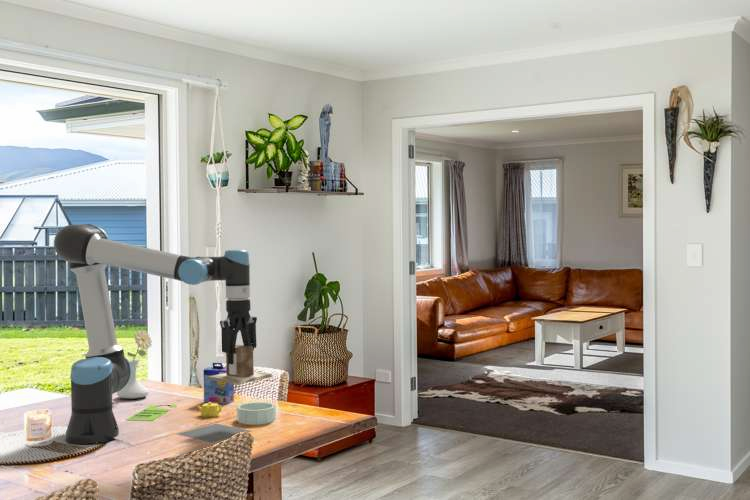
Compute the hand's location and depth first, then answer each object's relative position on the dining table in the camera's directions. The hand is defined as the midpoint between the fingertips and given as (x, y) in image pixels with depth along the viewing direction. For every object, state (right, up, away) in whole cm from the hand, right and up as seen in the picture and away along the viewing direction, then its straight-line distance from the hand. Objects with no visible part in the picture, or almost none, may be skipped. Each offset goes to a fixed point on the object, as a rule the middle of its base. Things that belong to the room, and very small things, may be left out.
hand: (240, 372), depth 259 cm
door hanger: (-33, -17, +23) cm, 44 cm away
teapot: (-13, -17, +14) cm, 26 cm away
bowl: (+4, -17, +8) cm, 19 cm away
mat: (-7, -18, -8) cm, 21 cm away
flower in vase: (-47, -16, +47) cm, 68 cm away
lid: (0, -2, 0) cm, 2 cm away
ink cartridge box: (-14, -16, +39) cm, 44 cm away
